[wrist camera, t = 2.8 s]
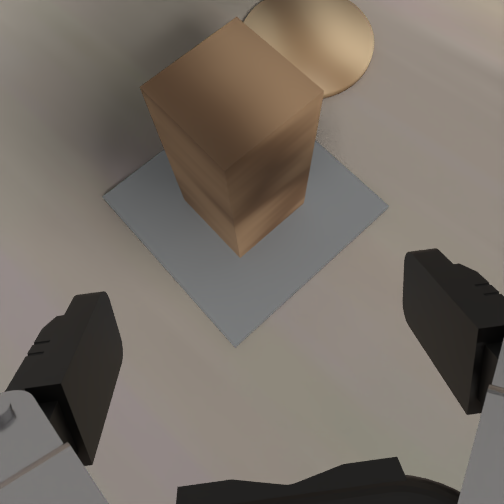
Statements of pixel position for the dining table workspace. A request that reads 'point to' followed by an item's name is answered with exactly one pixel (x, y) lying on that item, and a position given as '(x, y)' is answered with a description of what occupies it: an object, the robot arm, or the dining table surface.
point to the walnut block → (237, 132)
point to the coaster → (317, 38)
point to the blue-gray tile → (258, 257)
